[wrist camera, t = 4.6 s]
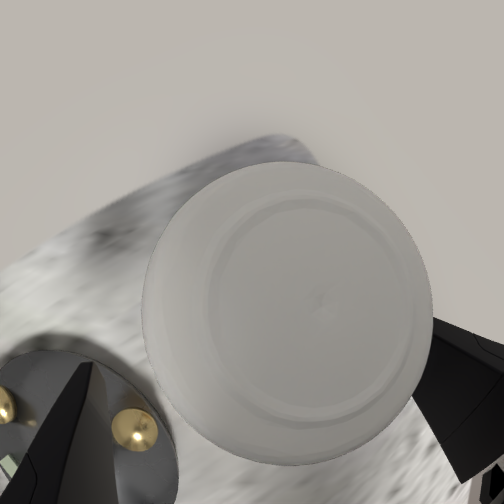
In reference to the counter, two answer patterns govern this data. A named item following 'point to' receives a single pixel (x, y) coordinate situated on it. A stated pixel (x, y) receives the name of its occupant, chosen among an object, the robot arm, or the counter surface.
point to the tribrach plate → (121, 416)
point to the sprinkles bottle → (287, 313)
